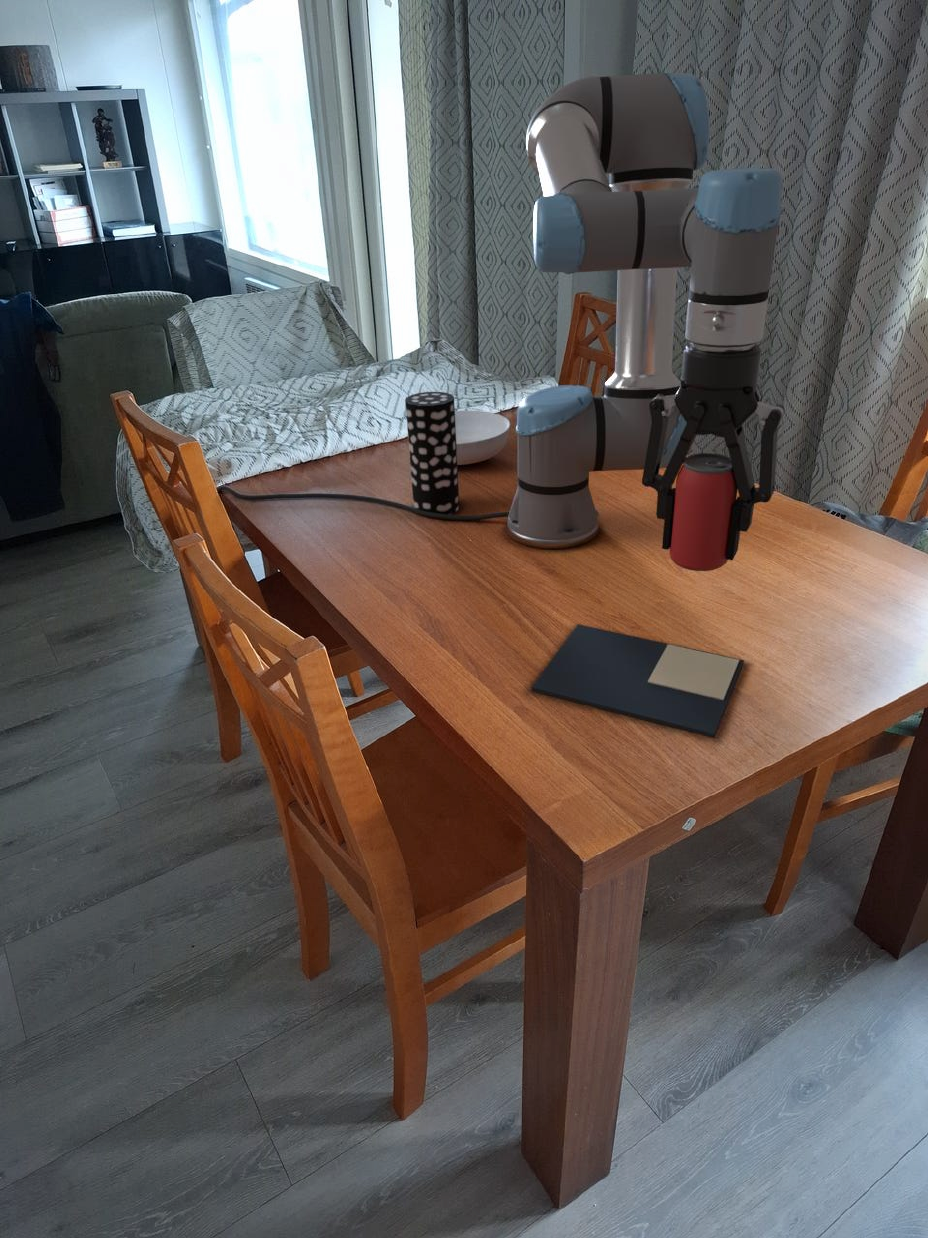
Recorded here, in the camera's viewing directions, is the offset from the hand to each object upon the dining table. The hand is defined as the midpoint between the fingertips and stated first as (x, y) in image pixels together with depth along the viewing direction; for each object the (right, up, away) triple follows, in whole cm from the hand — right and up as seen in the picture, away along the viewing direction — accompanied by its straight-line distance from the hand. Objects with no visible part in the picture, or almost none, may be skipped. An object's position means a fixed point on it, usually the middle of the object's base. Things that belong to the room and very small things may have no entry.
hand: (699, 549), depth 95 cm
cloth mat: (-6, -15, +7) cm, 18 cm away
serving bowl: (-28, +25, +77) cm, 86 cm away
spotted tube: (-32, +12, +55) cm, 65 cm away
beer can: (0, -1, +1) cm, 2 cm away
